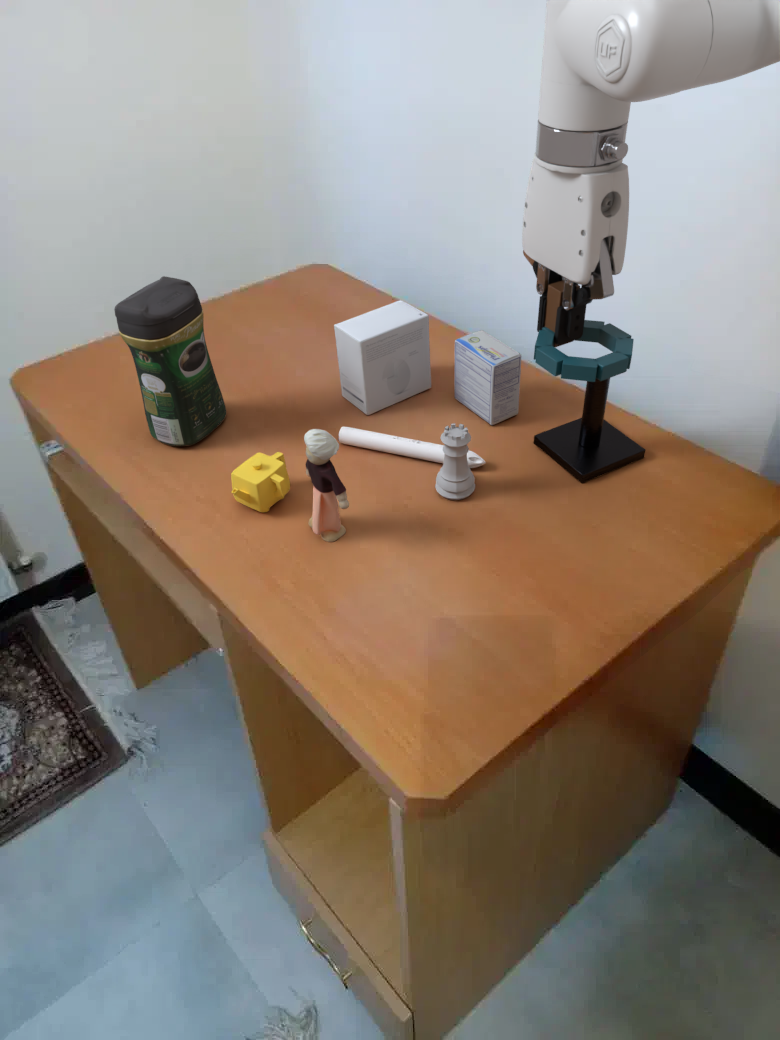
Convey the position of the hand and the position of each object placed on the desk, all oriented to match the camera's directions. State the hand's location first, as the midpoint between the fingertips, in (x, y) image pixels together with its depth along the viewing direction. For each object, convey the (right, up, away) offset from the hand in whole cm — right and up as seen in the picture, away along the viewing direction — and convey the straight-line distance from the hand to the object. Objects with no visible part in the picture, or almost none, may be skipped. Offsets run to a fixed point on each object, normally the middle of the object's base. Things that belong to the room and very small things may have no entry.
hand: (559, 333), depth 80 cm
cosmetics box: (-18, -2, +24) cm, 30 cm away
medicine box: (-5, -5, +20) cm, 21 cm away
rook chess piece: (-10, -16, +8) cm, 20 cm away
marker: (-15, -11, +13) cm, 23 cm away
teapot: (-31, -17, +8) cm, 36 cm away
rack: (+6, -11, +12) cm, 17 cm away
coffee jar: (-43, -7, +20) cm, 47 cm away
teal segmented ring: (+2, -3, -2) cm, 4 cm away
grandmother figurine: (-24, -20, +4) cm, 31 cm away
